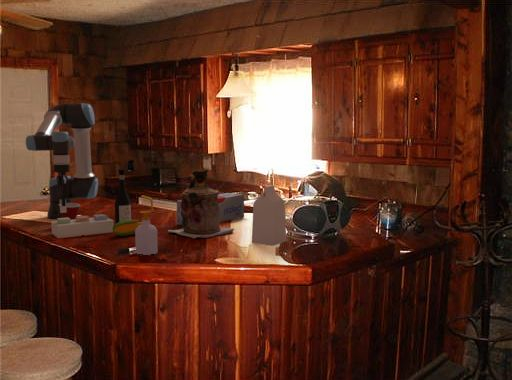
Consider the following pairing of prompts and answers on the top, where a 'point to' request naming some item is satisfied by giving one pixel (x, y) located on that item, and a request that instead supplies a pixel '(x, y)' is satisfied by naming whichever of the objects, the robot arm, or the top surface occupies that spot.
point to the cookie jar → (200, 209)
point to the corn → (126, 228)
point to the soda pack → (223, 207)
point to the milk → (269, 218)
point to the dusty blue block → (100, 217)
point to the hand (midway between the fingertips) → (63, 212)
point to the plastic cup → (71, 211)
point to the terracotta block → (82, 218)
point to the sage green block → (63, 220)
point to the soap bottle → (146, 234)
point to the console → (82, 228)
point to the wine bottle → (122, 201)
